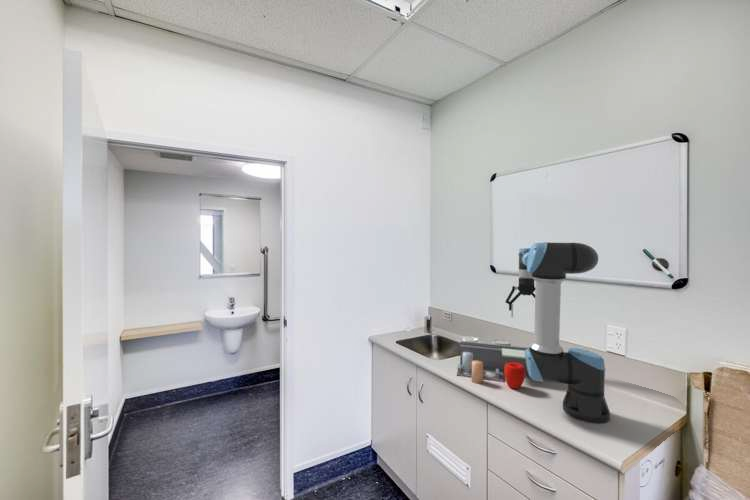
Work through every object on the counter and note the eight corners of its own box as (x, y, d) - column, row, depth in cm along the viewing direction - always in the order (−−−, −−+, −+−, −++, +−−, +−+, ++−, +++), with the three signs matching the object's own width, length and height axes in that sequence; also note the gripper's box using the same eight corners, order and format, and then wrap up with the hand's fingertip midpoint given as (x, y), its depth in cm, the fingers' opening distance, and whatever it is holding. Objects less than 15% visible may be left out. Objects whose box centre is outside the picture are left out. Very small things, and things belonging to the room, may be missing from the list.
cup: (486, 356, 187) (486, 339, 187) (468, 359, 183) (468, 341, 183) (477, 352, 195) (477, 335, 195) (460, 354, 191) (460, 337, 191)
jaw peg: (482, 384, 149) (482, 364, 149) (471, 382, 151) (471, 363, 151) (483, 380, 154) (483, 361, 154) (472, 378, 155) (472, 359, 155)
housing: (546, 387, 146) (546, 359, 146) (456, 375, 159) (456, 349, 159) (541, 373, 162) (541, 348, 162) (460, 363, 175) (460, 340, 175)
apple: (523, 393, 140) (523, 368, 140) (502, 388, 144) (502, 364, 144) (526, 386, 147) (526, 362, 147) (506, 381, 152) (506, 358, 152)
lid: (544, 361, 148) (544, 356, 148) (502, 356, 154) (502, 352, 154) (541, 353, 159) (541, 349, 159) (501, 349, 165) (501, 345, 165)
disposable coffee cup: (491, 365, 173) (492, 343, 172) (491, 360, 182) (491, 338, 182) (511, 368, 170) (511, 345, 170) (509, 362, 179) (510, 340, 179)
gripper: (552, 277, 170) (551, 318, 170) (501, 276, 179) (500, 314, 179) (554, 278, 163) (554, 321, 163) (501, 277, 172) (500, 317, 172)
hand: (526, 317), depth 171 cm, fingers open, 13 cm apart
